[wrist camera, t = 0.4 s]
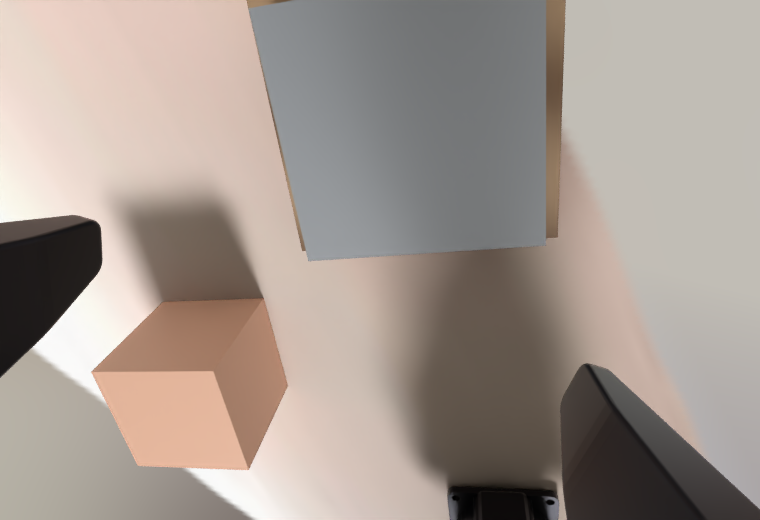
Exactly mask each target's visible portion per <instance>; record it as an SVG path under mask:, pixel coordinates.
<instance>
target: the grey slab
mask: <svg viewBox="0 0 760 520" xmlns="http://www.w3.org/2000/svg"><path fill="white" fill-rule="evenodd" d="M248 9H249V13H250V17H251V22H252V26H253V30H254V34H255V38H256V43H257V47H258V51H259V55H260V60H261V64H262V68H263V72H264V76H265V81H266V85H267V89H268V93H269V97H270V102H271V106H272V110H273V114H274V118H275V123H276V127H277V131H278V135H279V139H280V144H281V148H282V152H283V156H284V160H285V165H286V169H287V173H288V177H289V181H290V186H291V190H292V194H293V198H294V202H295V207H296V211H297V215H298V219H299V223H300V228H301V232H302V236H303V240H304V244H305V249H306V253H307V257H308V261H318V260H333V259H349V258H364V257H379V256H394V255H410V254H425V253H440V252H456V251H471V250H486V249H501V248H517V247H532V246H546V0H292V1H286V2H281V3H275V4H270V5H264V6H259V7H253V8H248Z"/></svg>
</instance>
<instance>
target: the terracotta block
mask: <svg viewBox="0 0 760 520" xmlns="http://www.w3.org/2000/svg"><path fill="white" fill-rule="evenodd" d="M92 374H93V376H94V378H95V381H96V383H97V385H98V387H99V389H100V391H101V393H102V395H103V397H104V399H105V401H106V403H107V405H108V407H109V409H110V411H111V413H112V415H113V417H114V419H115V421H116V423H117V425H118V427H119V429H120V431H121V433H122V435H123V437H124V439H125V441H126V443H127V445H128V447H129V449H130V451H131V453H132V455H133V457H134V459H135V461H136V463H137V465H138V466H156V467H181V468H207V469H234V470H249V468H250V466H251V464H252V462H253V459H254V457H255V455H256V453H257V451H258V449H259V447H260V444H261V442H262V440H263V438H264V436H265V434H266V432H267V429H268V427H269V425H270V423H271V421H272V419H273V416H274V414H275V412H276V410H277V408H278V406H279V404H280V401H281V399H282V397H283V395H284V393H285V391H286V389H287V386H288V385H287V381H286V377H285V374H284V370H283V367H282V363H281V359H280V356H279V352H278V348H277V345H276V341H275V338H274V334H273V330H272V327H271V323H270V319H269V316H268V312H267V309H266V305H265V301H264V298H256V299H228V300H199V301H171V302H162V303H161V304H160V305H159V306H158V307H157V308H156V309H155V310H154V311H153V312H152V313H151V314H150V315H149V316H148V317H147V318H146V319H145V320H144V321H143V322H142V323H141V324H140V325H139V326H138V327H137V328H136V329H135V330H134V331H133V332H132V333H131V334H129V335H128V336H127V337H126V338H125V339H124V340H123V341H122V342H121V343H120V344H119V345H118V346H117V347H116V348H115V349H114V350H113V351H112V352H111V353H110V354H109V355H108V356H107V357H106V358H105V359H104V360H103V361H102V362H101V363H100V364H99V365H98V366H97V367H96V368H95V369H94V370H93V371H92Z"/></svg>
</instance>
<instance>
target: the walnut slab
mask: <svg viewBox="0 0 760 520" xmlns="http://www.w3.org/2000/svg"><path fill="white" fill-rule="evenodd" d="M286 1H292V0H247V5H248V8H253V7H259V6H264V5H270V4H275V3H281V2H286ZM565 3H566V2H565V0H546V238H556V237H558V210H559V181H560V151H561V121H562V91H563V62H564V60H563V59H564V32H565V31H564V30H565ZM249 14H250V13H249ZM250 18H251V17H250ZM252 27H253V26H252ZM253 31H254V30H253ZM254 36H255V34H254ZM255 40H256V38H255ZM256 45H257V43H256ZM257 49H258V47H257ZM258 54H259V51H258ZM259 58H260V55H259ZM260 63H261V60H260ZM261 67H262V64H261ZM262 72H263V68H262ZM263 76H264V72H263ZM264 81H265V76H264ZM265 85H266V81H265ZM266 90H267V94H268V99H269V103H270V108H271V112H272V117H273V121H274V126H275V130H276V135H277V139H278V144H279V148H280V153H281V157H282V162H283V166H284V171H285V175H286V180H287V184H288V189H289V193H290V198H291V202H292V207H293V211H294V216H295V220H296V225H297V229H298V234H299V238H300V243H301V247H302V251H306V249H305V244H304V240H303V236H302V232H301V228H300V223H299V219H298V215H297V211H296V207H295V202H294V198H293V194H292V190H291V186H290V181H289V177H288V173H287V169H286V165H285V160H284V156H283V152H282V148H281V144H280V139H279V135H278V131H277V127H276V123H275V118H274V114H273V110H272V106H271V102H270V97H269V93H268V89H267V85H266Z"/></svg>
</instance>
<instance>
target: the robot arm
mask: <svg viewBox="0 0 760 520" xmlns="http://www.w3.org/2000/svg"><path fill="white" fill-rule="evenodd" d="M101 266H102V240H101V228H100V225H99V224H98V223H97V222H96V221H94V220H91V219H88V218H84V217H81V216H77V215H69V216H60V217H51V218H42V219H33V220H23V221H14V222H5V223H0V378H1V377H2V376H3V375H4V374H5V373H6V372H7V371H8V370H9V369H10V368H11V367H12V366H13V365H14V364H15V363H16V362H17V361H18V360H19V359H20V358H21V357H23V356H24V354H26V353H27V352H28V351H29V350H30V349H31V348H32V347H33V346H34V345H35V344H36V343H37V342H38V341H39V340H40V339H41V338H42V337H43V336H44V335H45V334H46V333H47V332H48V331H49V330H50V329H51V328H52V326H53V325H54V324H55V323H56V322H57V321H58V320H59V318H60V317H61V316H62V315H63V314H64V313H65V311H66V310H67V309H68V308H69V307H70V306H71V304H72V303H73V302H74V301H75V300H76V299H77V297H78V296H79V295H80V294H81V293H82V292H83V290H84V289H85V288H86V287H87V286H88V285H89V283H90V282H91V281H92V280H93V279H94V277H95V276H96V275H97V274H98V272H99V270H100V268H101ZM560 414H561V452H562V482H563V494H564V502H565V509H566V516H567V520H760V509H759V508H758V507H757V506H755V504H753V503H752V502H751V501H750V500H749V499H748V498H747V497H746V496H745V495H744V494H743V493H742V492H741V491H739V490H738V489H737V488H736V487H735V486H734V485H733V484H732V483H731V482H729V480H728V479H726V478H725V477H724V476H723V475H722V474H721V473H720V472H719V471H718V470H716V468H715V467H713V466H712V465H711V464H710V463H709V462H708V461H707V460H706V459H705V458H704V457H703V456H702V455H700V454H699V453H698V452H697V451H696V450H695V449H694V448H693V447H692V446H691V445H690V444H689V443H687V442H686V441H685V440H684V439H683V438H682V437H681V436H680V435H679V434H678V433H677V432H676V431H675V430H673V429H672V428H671V427H670V426H669V425H668V424H667V423H666V422H665V421H664V420H663V419H662V418H660V417H659V416H658V415H657V414H656V413H655V412H654V411H653V410H652V409H651V408H650V407H649V406H647V405H646V404H645V403H644V402H643V401H642V400H641V399H640V398H639V397H638V396H637V395H636V394H634V393H633V392H632V391H631V390H630V389H629V388H628V387H627V386H626V385H625V384H624V383H623V382H621V381H620V380H619V379H618V378H617V377H616V376H615V375H614V374H613V373H612V372H611V371H609V370H608V369H606V368H603V367H599V366H596V365H592V364H588V363H586V364H583V365H582V366H581V367H580V368H579V369H578V371H577V373H576V374H575V376H574V378H573V380H572V381H571V383H570V385H569V387H568V389H567V390H566V392H565V394H564V396H563V399H562V402H561V408H560ZM448 506H449V515H450V520H558V516H559V500H558V495H557V494H556V493H555V492H553V491H543V490H519V489H496V488H472V487H451V488H450V489H449V490H448Z"/></svg>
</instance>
